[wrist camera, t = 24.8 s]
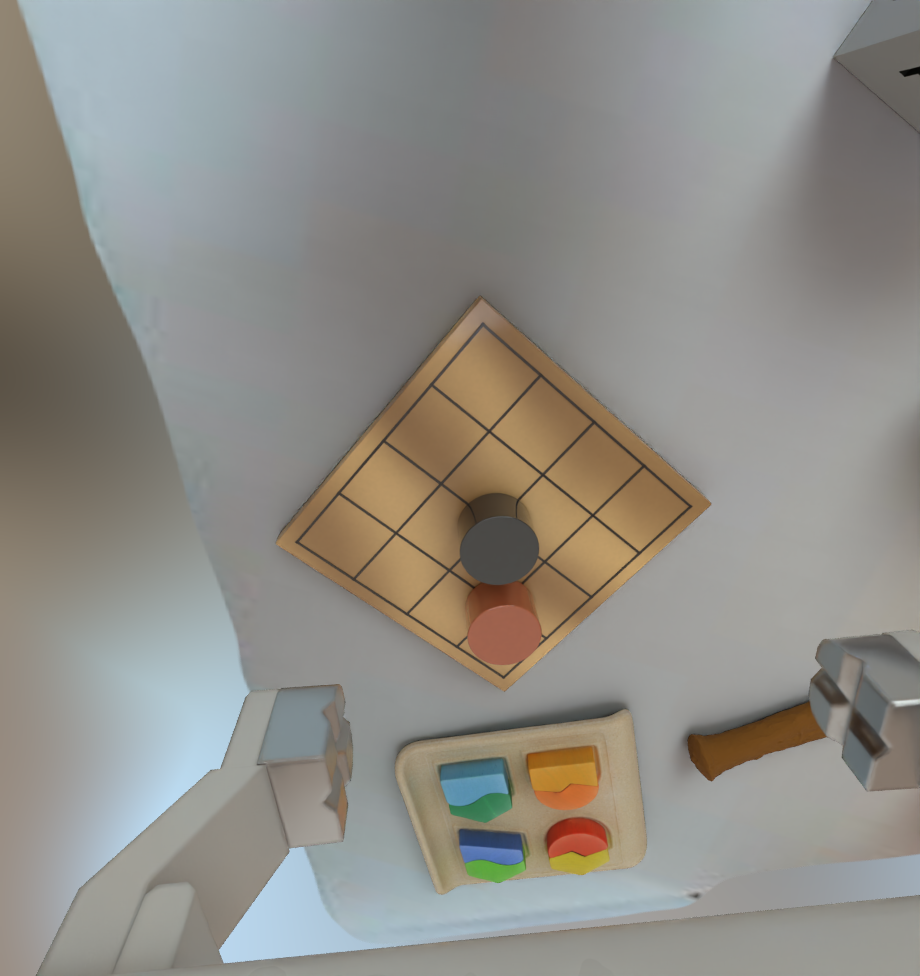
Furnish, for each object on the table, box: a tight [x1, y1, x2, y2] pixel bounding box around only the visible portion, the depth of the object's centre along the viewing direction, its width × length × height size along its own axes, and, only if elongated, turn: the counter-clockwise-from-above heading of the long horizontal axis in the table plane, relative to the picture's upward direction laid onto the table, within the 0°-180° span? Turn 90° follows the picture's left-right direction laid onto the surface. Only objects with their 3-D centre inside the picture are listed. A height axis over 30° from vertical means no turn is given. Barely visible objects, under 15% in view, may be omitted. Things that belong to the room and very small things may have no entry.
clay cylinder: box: [465, 581, 542, 665], centre depth 43 cm, size 5×5×3 cm
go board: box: [276, 296, 711, 692], centre depth 42 cm, size 20×20×1 cm
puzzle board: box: [395, 709, 647, 895], centre depth 52 cm, size 18×19×3 cm
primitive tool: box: [688, 701, 827, 781], centre depth 50 cm, size 19×6×4 cm, turn 110°
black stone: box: [457, 493, 539, 585], centre depth 40 cm, size 5×5×3 cm
